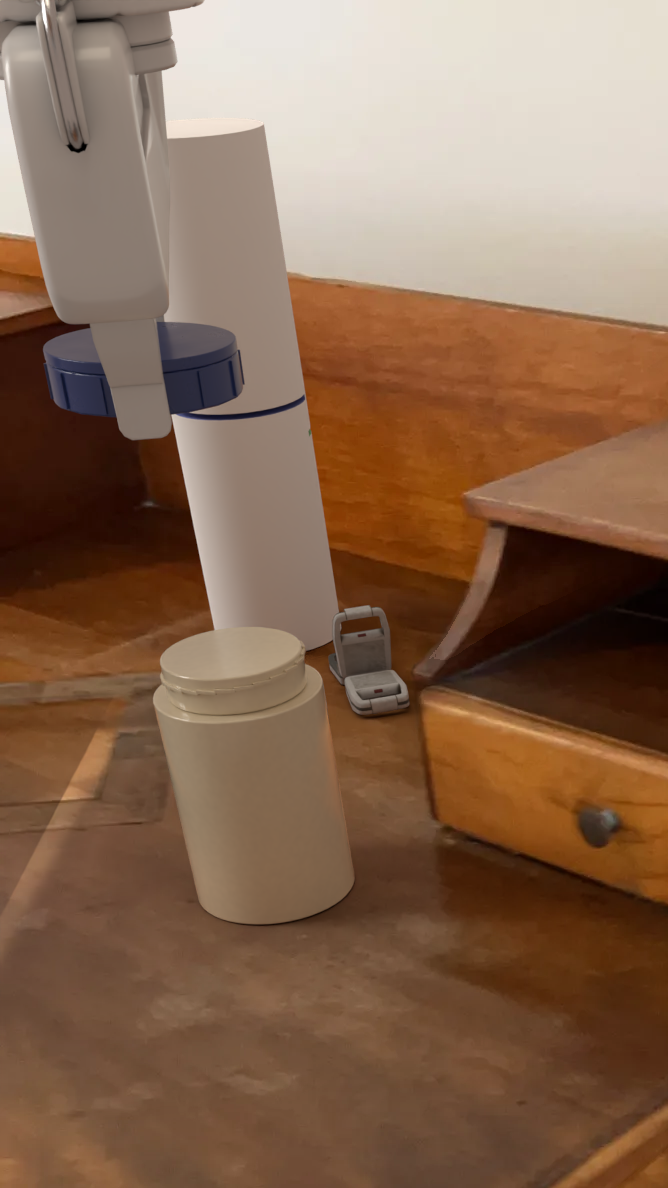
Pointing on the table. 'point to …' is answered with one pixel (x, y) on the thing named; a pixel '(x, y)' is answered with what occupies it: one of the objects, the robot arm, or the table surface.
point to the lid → (189, 362)
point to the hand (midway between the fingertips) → (149, 404)
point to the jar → (254, 775)
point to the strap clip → (367, 664)
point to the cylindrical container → (246, 390)
